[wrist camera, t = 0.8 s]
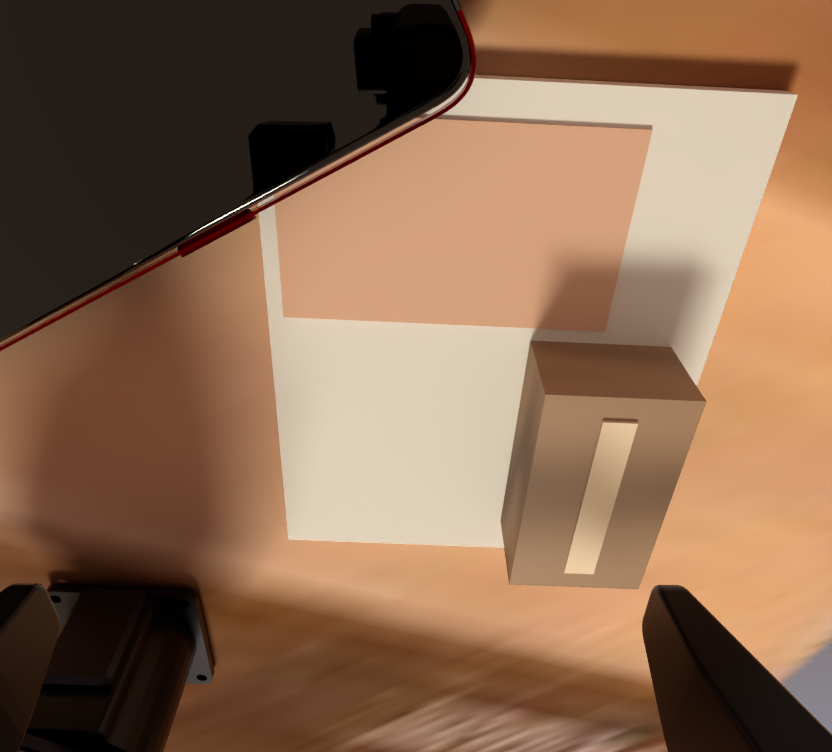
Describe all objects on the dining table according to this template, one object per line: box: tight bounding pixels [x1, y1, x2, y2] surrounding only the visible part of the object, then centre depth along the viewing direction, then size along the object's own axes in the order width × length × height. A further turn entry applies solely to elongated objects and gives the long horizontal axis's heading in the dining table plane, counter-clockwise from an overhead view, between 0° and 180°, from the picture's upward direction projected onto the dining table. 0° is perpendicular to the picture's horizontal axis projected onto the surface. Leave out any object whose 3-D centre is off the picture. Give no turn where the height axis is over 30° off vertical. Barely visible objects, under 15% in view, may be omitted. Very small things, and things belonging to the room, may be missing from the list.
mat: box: [258, 74, 798, 548], centre depth 21 cm, size 17×14×1 cm
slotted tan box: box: [500, 341, 706, 589], centre depth 21 cm, size 8×4×3 cm, turn 177°
